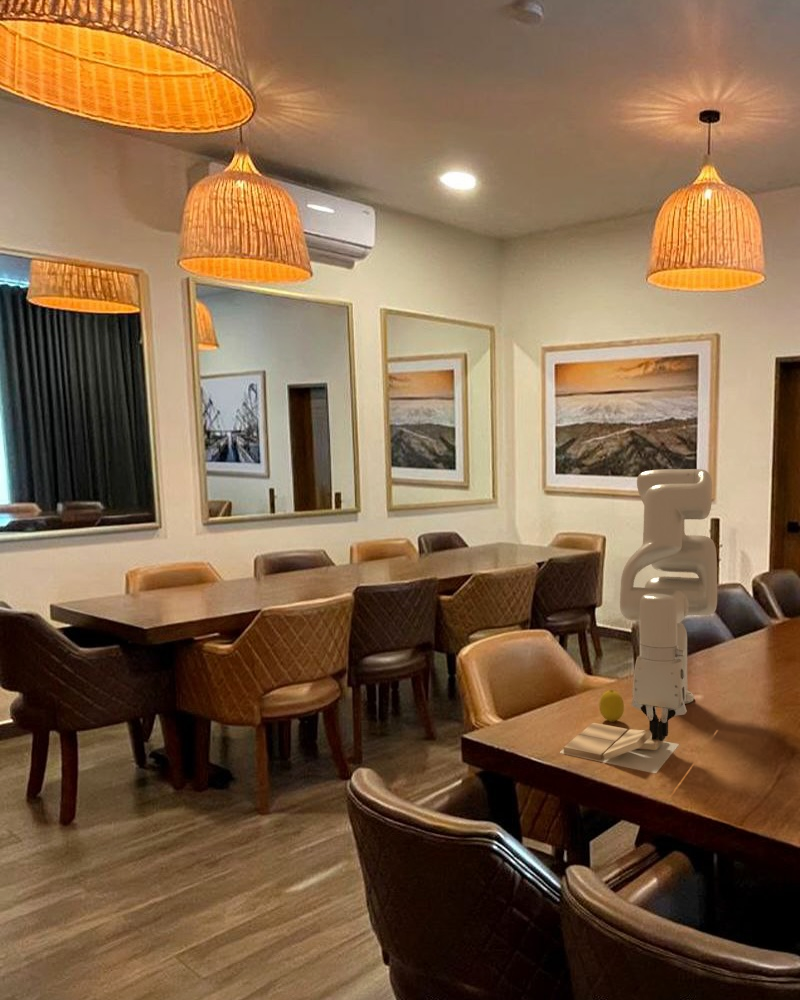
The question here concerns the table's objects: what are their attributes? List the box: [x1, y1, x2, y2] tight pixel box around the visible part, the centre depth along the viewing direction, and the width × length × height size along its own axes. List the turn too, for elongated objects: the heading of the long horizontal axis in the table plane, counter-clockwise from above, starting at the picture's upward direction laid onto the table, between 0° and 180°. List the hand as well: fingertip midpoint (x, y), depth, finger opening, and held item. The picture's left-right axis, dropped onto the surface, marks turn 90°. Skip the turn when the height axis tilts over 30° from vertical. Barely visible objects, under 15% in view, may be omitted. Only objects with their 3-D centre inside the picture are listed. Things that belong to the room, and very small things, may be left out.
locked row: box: [563, 722, 629, 761], centre depth 159 cm, size 18×8×1 cm, turn 145°
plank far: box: [618, 728, 668, 750], centre depth 158 cm, size 8×8×1 cm
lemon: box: [598, 688, 625, 723], centre depth 173 cm, size 6×6×8 cm
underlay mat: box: [559, 740, 680, 775], centre depth 156 cm, size 18×20×1 cm
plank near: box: [603, 728, 652, 760], centre depth 151 cm, size 8×8×1 cm
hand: (658, 738), depth 156 cm, fingers closed
